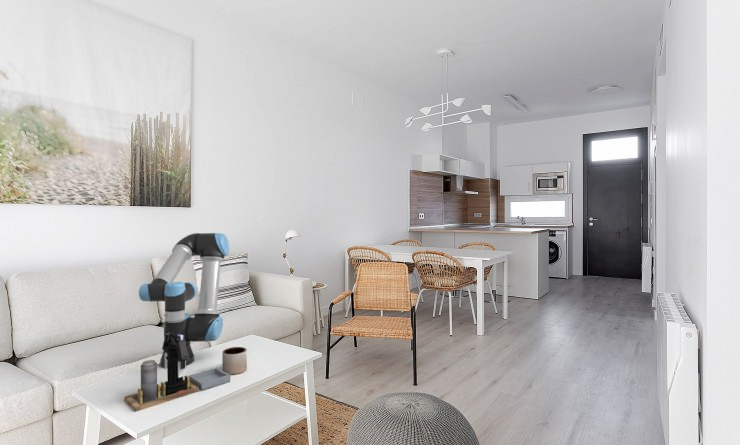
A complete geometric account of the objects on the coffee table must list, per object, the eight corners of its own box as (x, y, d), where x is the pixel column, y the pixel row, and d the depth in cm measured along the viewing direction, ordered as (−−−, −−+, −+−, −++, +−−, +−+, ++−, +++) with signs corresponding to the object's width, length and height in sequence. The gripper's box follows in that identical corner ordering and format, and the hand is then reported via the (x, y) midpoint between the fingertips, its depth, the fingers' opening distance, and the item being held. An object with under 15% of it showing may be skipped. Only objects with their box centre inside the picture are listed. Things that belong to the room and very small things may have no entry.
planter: (221, 376, 182) (221, 355, 182) (223, 367, 192) (223, 347, 192) (246, 374, 185) (246, 353, 185) (246, 365, 195) (246, 345, 195)
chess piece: (183, 386, 172) (182, 339, 171) (188, 392, 166) (188, 344, 165) (162, 391, 167) (162, 343, 166) (167, 398, 160) (166, 348, 160)
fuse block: (124, 400, 158) (123, 362, 158) (185, 382, 176) (185, 348, 175) (135, 411, 149) (135, 371, 149) (199, 391, 166) (198, 355, 166)
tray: (188, 382, 175) (188, 375, 175) (216, 374, 185) (216, 367, 185) (201, 391, 167) (201, 383, 167) (230, 381, 176) (230, 375, 176)
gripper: (153, 316, 171) (153, 366, 171) (178, 327, 154) (178, 383, 154) (172, 313, 177) (172, 362, 177) (197, 324, 160) (197, 377, 160)
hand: (174, 372), depth 166 cm, fingers open, 13 cm apart
